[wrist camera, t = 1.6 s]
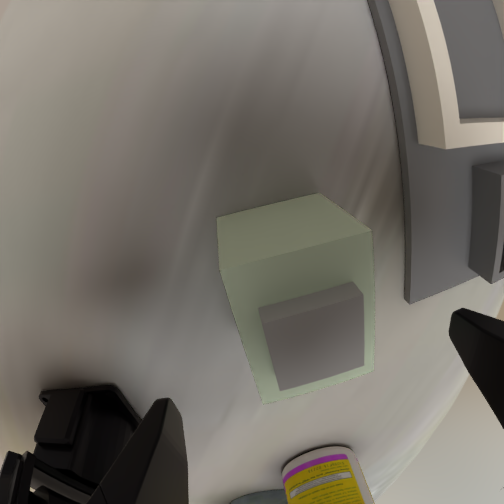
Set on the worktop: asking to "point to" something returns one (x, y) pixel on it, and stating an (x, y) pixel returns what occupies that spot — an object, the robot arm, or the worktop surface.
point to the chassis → (447, 136)
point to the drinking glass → (263, 498)
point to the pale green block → (300, 293)
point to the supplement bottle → (326, 478)
